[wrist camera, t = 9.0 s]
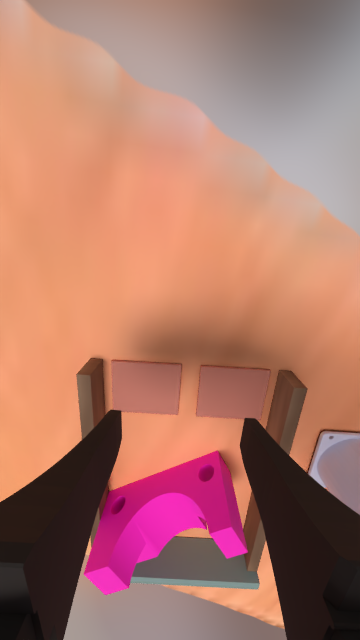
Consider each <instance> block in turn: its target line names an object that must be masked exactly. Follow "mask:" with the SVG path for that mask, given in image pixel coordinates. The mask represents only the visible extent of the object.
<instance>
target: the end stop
mask: <svg viewBox="0 0 360 640" xmlns="http://www.w3.org/2000/svg"><path fill="white" fill-rule="evenodd" d="M130 583H146V584H164V585H183V586H202V587H221V588H241V589H258V588H259V584H260V583H259V579H258V574H257V572H253V571H247V567H246V563H245V558H244V554H241V555H238V556H234V557H231V558H228V559H227V558H226V557H225V555H224V554H223V552H222V551H221V550H220V548H219V547H218V545H217V544H216V542H215V541H214V540H213V539H206V538H188V537H173V538H172V539H171V540H170V541H169V542H168V543H167V544H166V545H165V546H164V547H163V549H162V550H161V552H160V553H159V555H158V556H157V557H155V558H152V559H149V560H146V561H142V562H139V563H136V566H135V568H134V571H133V574H132V577H131V581H130Z"/></svg>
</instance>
